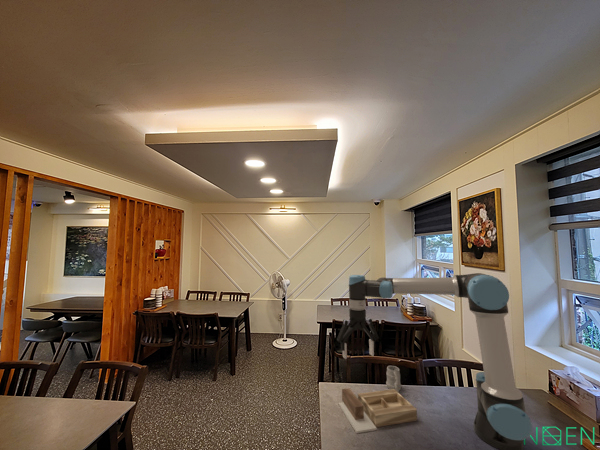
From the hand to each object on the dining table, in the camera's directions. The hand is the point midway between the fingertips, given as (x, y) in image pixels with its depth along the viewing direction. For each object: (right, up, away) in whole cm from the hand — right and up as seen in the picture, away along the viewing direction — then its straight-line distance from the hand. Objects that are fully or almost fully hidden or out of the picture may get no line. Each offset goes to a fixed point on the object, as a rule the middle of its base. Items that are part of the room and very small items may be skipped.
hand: (358, 356), depth 110 cm
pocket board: (+13, -25, 0) cm, 28 cm away
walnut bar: (-3, -24, 0) cm, 24 cm away
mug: (+24, -28, +18) cm, 41 cm away
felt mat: (-2, -25, -4) cm, 25 cm away
